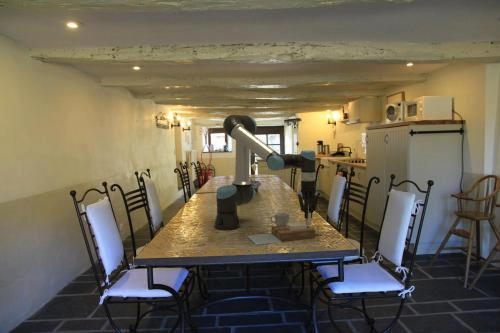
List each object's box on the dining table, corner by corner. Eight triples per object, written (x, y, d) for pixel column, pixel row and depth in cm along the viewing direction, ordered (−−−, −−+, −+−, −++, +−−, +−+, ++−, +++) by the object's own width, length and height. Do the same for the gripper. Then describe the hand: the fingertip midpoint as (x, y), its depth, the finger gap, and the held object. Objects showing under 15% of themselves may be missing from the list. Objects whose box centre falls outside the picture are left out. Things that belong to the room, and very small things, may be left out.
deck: (272, 233, 173) (271, 226, 172) (302, 230, 178) (302, 223, 178) (282, 241, 159) (282, 233, 159) (315, 237, 165) (315, 230, 164)
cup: (269, 228, 183) (269, 214, 182) (271, 224, 191) (270, 211, 190) (289, 229, 181) (289, 215, 180) (289, 225, 189) (289, 211, 188)
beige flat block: (286, 227, 170) (286, 223, 170) (301, 225, 173) (301, 221, 173) (290, 230, 165) (290, 226, 165) (306, 228, 167) (306, 224, 167)
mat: (247, 236, 169) (247, 235, 169) (270, 233, 173) (270, 233, 173) (256, 245, 155) (256, 244, 155) (281, 242, 159) (281, 241, 159)
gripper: (300, 181, 163) (300, 227, 165) (323, 180, 167) (323, 225, 169) (293, 180, 171) (294, 223, 173) (316, 178, 174) (316, 221, 176)
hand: (308, 224), depth 171 cm, fingers closed
